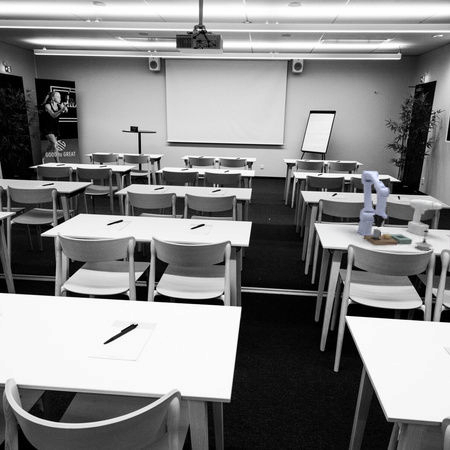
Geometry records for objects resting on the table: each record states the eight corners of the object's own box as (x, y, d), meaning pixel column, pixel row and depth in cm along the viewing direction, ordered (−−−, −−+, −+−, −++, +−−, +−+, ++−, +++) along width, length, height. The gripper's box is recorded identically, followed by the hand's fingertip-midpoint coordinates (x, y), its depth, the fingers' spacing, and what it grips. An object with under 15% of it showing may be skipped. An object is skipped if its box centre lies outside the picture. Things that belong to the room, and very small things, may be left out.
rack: (388, 238, 273) (389, 234, 272) (400, 238, 275) (401, 234, 274) (399, 244, 262) (399, 239, 261) (411, 243, 264) (412, 239, 263)
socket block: (363, 238, 271) (364, 235, 270) (385, 238, 274) (385, 235, 273) (374, 245, 258) (375, 242, 257) (397, 244, 261) (397, 241, 260)
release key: (381, 240, 268) (382, 233, 267) (387, 240, 269) (388, 233, 268) (385, 242, 264) (386, 235, 263) (390, 242, 265) (391, 235, 264)
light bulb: (421, 227, 259) (415, 229, 253) (437, 230, 252) (431, 233, 246) (418, 245, 262) (411, 247, 256) (434, 249, 255) (427, 252, 249)
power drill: (431, 239, 276) (438, 204, 269) (402, 230, 296) (408, 196, 289) (439, 238, 279) (446, 203, 273) (410, 229, 300) (416, 196, 293)
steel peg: (370, 240, 267) (372, 229, 264) (376, 240, 267) (378, 229, 265) (374, 242, 263) (376, 230, 261) (379, 242, 264) (381, 230, 261)
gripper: (393, 208, 252) (389, 229, 256) (380, 203, 266) (377, 223, 270) (382, 208, 251) (379, 229, 255) (370, 203, 265) (367, 223, 268)
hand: (377, 226), depth 262 cm, fingers closed
